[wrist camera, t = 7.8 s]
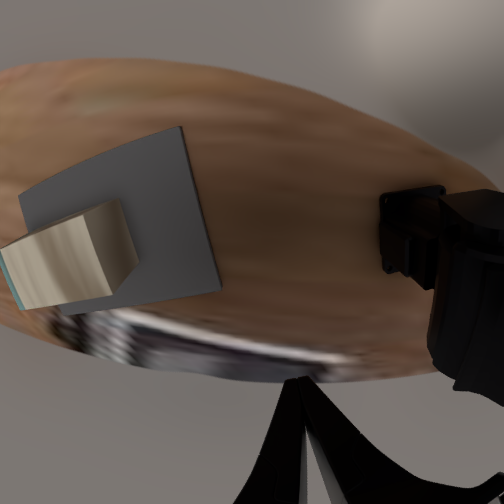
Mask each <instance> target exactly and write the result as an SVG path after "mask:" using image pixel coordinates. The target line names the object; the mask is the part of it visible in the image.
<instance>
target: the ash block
mask: <svg viewBox="0 0 504 504" xmlns="http://www.w3.org/2000/svg"><path fill="white" fill-rule="evenodd" d="M138 263H139V259H138V256H137V253H136V251H135V248H134V245H133V242H132V239H131V236H130V233H129V230H128V227H127V223H126V220H125V217H124V214H123V210H122V207H121V204H120V200H119V198H117V199H114V200H111V201H108V202H105V203H102V204H99V205H96V206H94V207H91V208H88V209H85V210H83V211H80V212H77V213H75V214H72V215H70V216H67V217H65V218H62V219H60V220H57V221H55V222H52V223H50V224H47V225H45V226H43V227H40V228H38V229H36V230H33V231H31V232H29V233H28V234H26V235H24V236H22V237H20V238H18V239H17V240H15V241H13V242H11V243H10V244H8V245H6V246H4V247H3V248H1V249H0V266H1V268H2V271H3V273H4V275H5V278H6V280H7V283H8V285H9V287H10V289H11V292H12V294H13V296H14V298H15V300H16V302H17V304H18V306H19V308H20V310H27V309H33V308H39V307H45V306H51V305H57V304H63V303H69V302H75V301H81V300H87V299H93V298H98V297H104V296H110V295H113V294H114V293H115V292H116V290H117V289H118V288H119V287H120V285H121V284H122V283H123V282H124V280H125V279H126V278H127V277H128V275H129V274H130V273H131V272H132V270H133V269H134V268H135V267H136V266H137V264H138Z"/></svg>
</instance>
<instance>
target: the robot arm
mask: <svg viewBox="0 0 504 504" xmlns="http://www.w3.org/2000/svg"><path fill="white" fill-rule="evenodd" d="M440 190H441V193H440ZM386 198H388V202H387V203H385V199H386ZM380 213H381V222H380V224H379V231H380V254H381V255H382V260H383V270H384V272H385V273H387V274H391V273H395V272H399V271H400V272H401V273H402V274H403V275H404V276H405V277H411V278H412V279H413V280H415V281H416V282H417V283H418V284H419V285H420V286H421V287H422V288H423V289H424V290H429V289H434V296H433V303H432V310H431V314H430V322H429V327H428V332H427V348H428V350H429V352H430V355H431V357H432V358H433V362H432V363H433V365H434V366H435V367H436V368H437V369H438V370H439V371H440V372H441V373H443V374H445V375H446V376H448V377H450V378H452V379H455V383H454V385H453V390H454V391H469V392H473V393H477V394H481V395H483V396H485V397H487V398H489V399H490V400H492V401H494V402H496V403H497V404H499V405H500V406H502V407H504V193H502V192H498V191H493V190H488V189H481V190H474V191H468V192H461V193H455V194H449V195H446V189H445V187H444V186H441V185H436V186H429V187H422V188H415V189H409V190H402V191H396V192H390V193H384V194H382V195H381V197H380ZM388 266H390V268H389V269H387V268H388ZM305 426H306V428H305ZM306 431H307V434H308V437H309V440H310V443H311V446H312V449H313V451H314V454H315V457H316V460H317V463H318V466H319V469H320V472H321V475H322V478H323V481H324V483H325V486H326V489H327V492H328V495H329V498H330V501H331V504H504V493H503V492H504V473H503V472H498V473H497V474H495V475H494V476H492V477H491V478H490V479H488V480H487V481H486V482H484V483H483V484H481V485H479V486H476V487H474V488H460V487H455V486H449V485H444V484H439V483H435V482H430V481H426V480H423V479H420V478H418V477H416V476H414V475H413V474H411V473H409V472H408V471H407V470H405V469H404V468H402V467H401V466H399V465H398V464H397V463H395V462H394V461H392V460H391V459H390V458H388V457H387V456H386V455H384V454H383V453H382V452H381V451H379V450H378V449H377V448H376V447H375V446H374V445H373V444H372V443H371V442H370V441H368V440H367V438H366V437H365V436H364V435H363V434H360V431H359V430H358V429H357V428H356V427H355V426H354V425H353V424H352V423H351V422H350V421H349V420H348V419H347V418H346V416H345V415H344V414H343V413H342V412H341V411H340V410H339V409H338V408H337V407H336V406H335V405H334V404H333V402H332V401H331V400H330V399H329V398H328V397H327V396H326V395H325V394H324V393H323V391H322V390H321V389H320V388H319V387H318V386H317V385H316V384H315V382H314V381H313V380H312V379H311V378H310V377H309V376H307V375H306V376H301V377H298V378H297V379H296V378H292V379H287V380H285V382H284V385H283V388H282V391H281V394H280V397H279V400H278V403H277V406H276V409H275V412H274V415H273V418H272V420H271V423H270V427H269V429H268V432H267V435H266V437H265V440H264V443H263V445H262V448H261V451H260V453H259V454H260V455H258V458H257V460H256V463H255V465H254V468H253V470H252V472H251V474H250V476H249V478H248V480H247V482H246V483H245V485H244V487H243V489H242V490H241V492H240V493H239V495H238V496H237V498H236V500H235V501H234V503H233V504H307V446H306V445H307V444H306ZM501 493H503V494H502V495H501V496H499V495H500V494H501Z"/></svg>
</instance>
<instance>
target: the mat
mask: <svg viewBox="0 0 504 504" xmlns="http://www.w3.org/2000/svg"><path fill="white" fill-rule="evenodd" d="M18 198H19V202H20V205H21V209H22V212H23V216H24V219H25V223H26V226H27V229H28V232H31V231H33V230H36V229H38V228H40V227H43V226H45V225H47V224H50V223H52V222H55V221H57V220H60V219H62V218H65V217H67V216H70V215H72V214H75V213H77V212H80V211H83V210H85V209H88V208H91V207H94V206H96V205H99V204H102V203H105V202H108V201H111V200H114V199H117V198H119V200H120V204H121V207H122V210H123V214H124V217H125V220H126V223H127V227H128V230H129V233H130V236H131V239H132V242H133V245H134V248H135V251H136V253H137V256H138V259H139V263H138V264H137V266H136V267H135V268H134V269H133V270H132V272H131V273H130V274H129V275H128V277H127V278H126V279H125V280H124V282H123V283H122V284H121V285H120V287H119V288H118V289H117V290H116V292H115V293H114V294H113V295H110V296H104V297H98V298H93V299H87V300H81V301H75V302H69V303H63V304H58V305H59V307H60V309H61V311H62V313H63V315H64V316H65V315H72V314H80V313H87V312H94V311H101V310H108V309H114V308H121V307H128V306H134V305H140V304H146V303H153V302H159V301H165V300H170V299H176V298H182V297H188V296H193V295H199V294H204V293H210V292H215V291H221V290H222V283H221V280H220V276H219V273H218V269H217V266H216V262H215V259H214V255H213V251H212V248H211V244H210V241H209V237H208V233H207V229H206V226H205V222H204V218H203V214H202V211H201V207H200V203H199V199H198V195H197V191H196V187H195V183H194V179H193V175H192V171H191V167H190V163H189V158H188V154H187V150H186V146H185V141H184V137H183V133H182V128H181V127H180V126H178V127H174V128H171V129H168V130H165V131H162V132H158V133H155V134H152V135H149V136H146V137H144V138H141V139H138V140H135V141H132V142H130V143H127V144H124V145H122V146H119V147H117V148H114V149H112V150H109V151H107V152H104V153H102V154H99V155H97V156H95V157H92V158H90V159H88V160H86V161H83V162H81V163H79V164H77V165H75V166H73V167H70V168H68V169H66V170H64V171H62V172H60V173H58V174H56V175H54V176H52V177H50V178H49V179H47V180H45V181H43V182H41V183H39V184H37V185H36V186H34V187H32V188H30V189H29V190H27V191H25V192H23V193H22V194H20V195H18Z"/></svg>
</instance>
